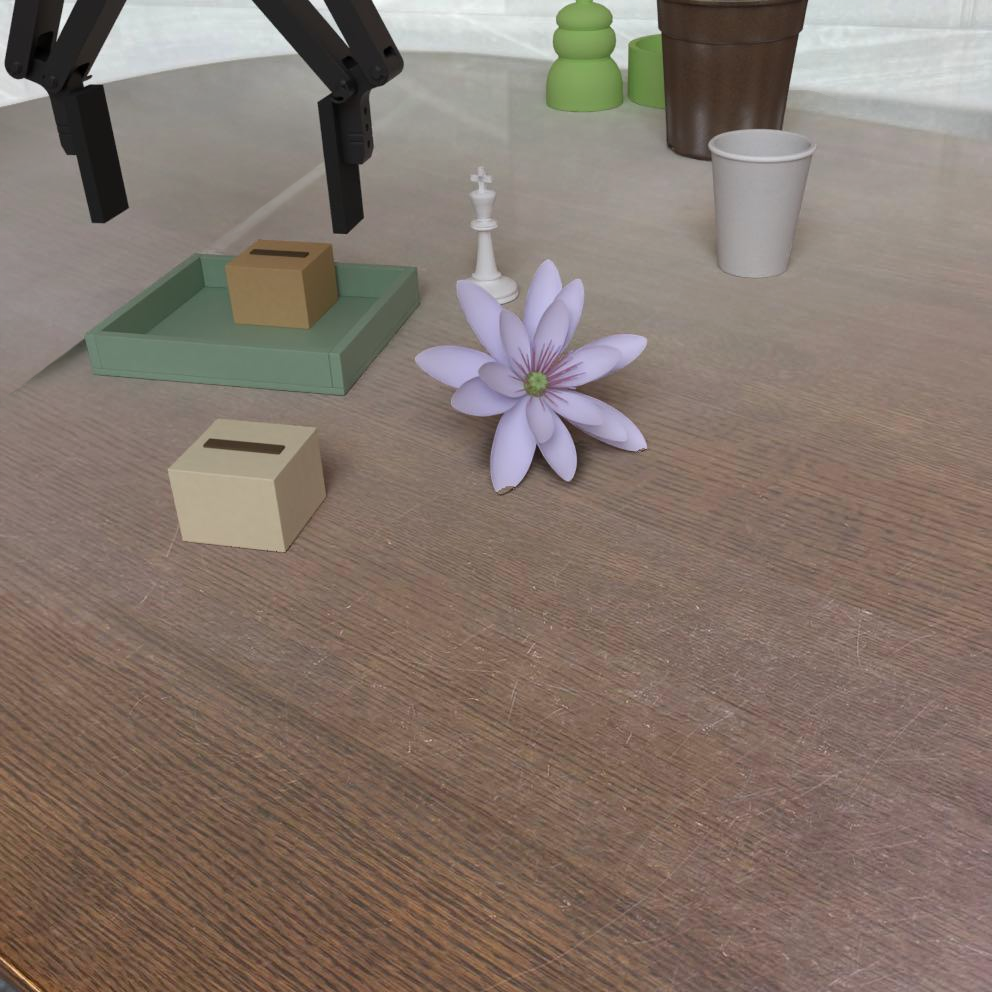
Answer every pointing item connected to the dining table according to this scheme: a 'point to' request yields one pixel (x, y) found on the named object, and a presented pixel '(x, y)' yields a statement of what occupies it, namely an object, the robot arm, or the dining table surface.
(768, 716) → the dining table surface
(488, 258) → the chess piece
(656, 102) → the green stacking toy
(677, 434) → the dining table surface
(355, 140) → the robot arm
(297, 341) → the tray
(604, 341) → the water lily
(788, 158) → the dixie cup
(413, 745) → the dining table surface
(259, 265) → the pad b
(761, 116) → the plant pot
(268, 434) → the beige slotted box
